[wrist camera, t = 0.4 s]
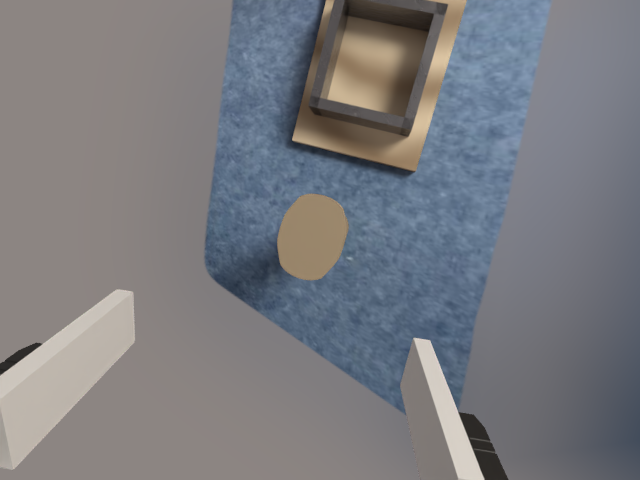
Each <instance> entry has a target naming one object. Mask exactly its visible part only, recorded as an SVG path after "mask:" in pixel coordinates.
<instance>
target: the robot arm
mask: <svg viewBox="0 0 640 480" xmlns="http://www.w3.org/2000/svg"><path fill="white" fill-rule="evenodd" d="M134 342H135V328H134V301H133V292H131V291H125V290H119V289H117V290H115V291H114V292H113V293H111V294H110V295H109V296H107V297H106V298H104V299H103V300H102V301H100V302H99V303H98V304H96V305H95V306H94V307H92V308H91V309H90V310H88V311H87V312H86V313H84V314H83V315H82V316H80V317H79V318H77V319H76V320H75V321H73V322H72V323H71V324H69V325H68V326H67V327H65V328H64V329H63V330H61V331H60V332H59V333H57V334H56V335H55V336H53V337H52V338H50V339H49V340H48V341H46V342H45V343H44V344H41V343H35V344H32V345H30V346H28V347H26V348H23V349H21V350H19V351H17V352H16V353H15V354H13V355H12V356H10V357H9V358H7V359H6V360H5V362H2V363H0V468H6V469H14V468H15V467H16V466H17V465H18V464H19V463H20V462H21V461H22V460H23V459H24V458H25V457H26V456H27V455H28V454H29V453H30V452H31V451H32V450H33V448H34V447H35V446H36V445H37V444H38V443H39V442H40V441H41V440H42V439H43V438H44V437H45V436H46V435H47V433H49V431H51V429H52V428H53V427H54V426H55V425H56V424H57V423H58V422H59V421H60V420H61V419H62V418H63V417H64V416H65V415H66V413H68V412H69V411H70V409H71V408H72V407H73V406H74V405H75V404H76V403H77V402H78V401H79V400H80V399H81V398H82V397H83V396H84V395H85V394H86V393H87V392H88V391H89V389H90V388H91V387H92V386H93V385H94V384H95V383H96V382H97V381H98V380H99V379H100V378H101V377H102V376H103V375H104V374H105V373H106V372H107V370H108V369H109V368H110V367H111V366H112V365H113V364H114V363H115V362H116V361H117V360H118V359H119V358H120V357H121V356H122V355H123V354H124V353H125V351H126V350H127V349H128V348H129V347H130V346H131V345H132V344H133V343H134ZM400 387H401V392H402V397H403V401H404V406H405V411H406V415H407V420H408V425H409V430H410V434H411V439H412V443H413V449H414V453H415V458H416V463H417V467H418V472H419V477H420V480H508V478H507V476H506V474H505V471H504V469H503V467H502V465H501V463H500V460H499V458H498V456H497V454H495V450H494V447H493V445H492V443H490V439H489V436H488V434H487V432H486V430H485V428H484V426H483V425H482V424H481V423H480V422H479V421H478V419H477V418H476V417H475V416H474V415H472V414H466V413H460V412H458V411H457V408H456V406H455V403H454V401H453V398H452V395H451V393H450V390H449V388H448V385H447V383H446V380H445V378H444V375H443V372H442V370H441V367H440V365H439V362H438V360H437V357H436V355H435V352H434V349H433V347H432V344H431V342H430V340H424V339H418V338H413V341H412V345H411V348H410V352H409V356H408V359H407V363H406V366H405V370H404V374H403V377H402V381H401V384H400Z"/></svg>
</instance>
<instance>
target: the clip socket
mask: <svg viewBox="0 0 640 480" xmlns="http://www.w3.org/2000/svg"><path fill="white" fill-rule="evenodd" d="M447 8H448V4H444V3H439V2H434V1H429V0H334V3H333V7H332V11H331V15H330V19H329V23H328V27H327V31H326V35H325V39H324V43H323V48H322V52H321V56H320V60H319V64H318V68H317V72H316V76H315V80H314V84H313V88H312V92H311V96H310V100H309V104H308V106H309V108H310V109H311V110H312V112H313V113H314V114H315V115H319V116H323V117H327V118H331V119H336V120H340V121H344V122H348V123H352V124H357V125H361V126H365V127H369V128H373V129H377V130H382V131H386V132H390V133H394V134H398V135H403V136H407V137H409V135H410V133H411V131H412V127H413V124H414V121H415V117H416V114H417V110H418V107H419V103H420V100H421V97H422V93H423V90H424V86H425V83H426V79H427V76H428V73H429V69H430V66H431V62H432V59H433V56H434V52H435V49H436V45H437V42H438V38H439V35H440V32H441V28H442V25H443V21H444V18H445V14H446V11H447ZM348 16H351V17H356V18H361V19H366V20H371V21H376V22H381V23H386V24H391V25H396V26H401V27H406V28H411V29H416V30H421V31H426V32H429V33H428V36H427V40H426V43H425V47H424V50H423V53H422V57H421V60H420V64H419V67H418V71H417V74H416V78H415V81H414V85H413V88H412V92H411V95H410V99H409V102H408V106H407V109H406V113H405V116H404V117H401V116H397V115H393V114H388V113H384V112H380V111H375V110H371V109H367V108H362V107H358V106H354V105H350V104H345V103H341V102H337V101H332V100H328V95H329V91H330V87H331V83H332V79H333V75H334V71H335V67H336V63H337V59H338V55H339V51H340V47H341V44H342V40H343V36H344V32H345V28H346V24H347V20H348Z"/></svg>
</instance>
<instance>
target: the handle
mask: <svg viewBox="0 0 640 480" xmlns="http://www.w3.org/2000/svg"><path fill="white" fill-rule="evenodd" d="M348 227H349V226H348V221H347V218H346V217H345V214H344V209H343V208H342V207H341V205H340V204H339V203H338V202H336V201H335V200H333V199H332V198H329V197H327V196H323V195H319V194H306V195H302V196H300V197H299V198H298V199H297V200H296V201H295V203H294V204H293V205H292V206H291V207H290V208H289V209H288V211H287V212H286V214H285V215H284V218H283V220H282V223H281V227H280V230H279V234H278V239H277V247H278V254H279V260H280V265H281V266H282V267H283V269H284V270H285V271H286V272H288V273H289V274H291V275H292V276H295V277H297V278H300V279H304V280H317V279H321V278H322V277H323V276H324V275H325V274H326V273H327V272H328V271H329V270H330V269H331V268H332V267H333V265H334V264H335V263H336V262H337V260H338V259H339V257H340V255H341V252H342V249H343V246H344V243H345V239H346V235H347V233H348Z"/></svg>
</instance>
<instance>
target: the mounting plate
mask: <svg viewBox="0 0 640 480" xmlns="http://www.w3.org/2000/svg"><path fill="white" fill-rule="evenodd" d="M429 1H434V2H439V3H444V4H448V8H447V11H446V14H445V18H444V21H443V25H442V28H441V32H440V35H439V38H438V42H437V45H436V49H435V52H434V56H433V59H432V62H431V66H430V69H429V73H428V76H427V79H426V83H425V86H424V90H423V93H422V97H421V100H420V103H419V107H418V110H417V114H416V117H415V121H414V124H413V127H412V131H411V133H410V135H409V137H407V136H403V135H398V134H394V133H390V132H386V131H382V130H377V129H373V128H369V127H365V126H361V125H357V124H352V123H348V122H344V121H340V120H336V119H331V118H327V117H323V116H319V115H315V114H314V113H313V112H312V110H311V109H310V108H309V106H308V104H309V100H310V96H311V92H312V88H313V84H314V80H315V76H316V72H317V68H318V64H319V60H320V56H321V52H322V48H323V43H324V39H325V35H326V31H327V27H328V23H329V19H330V15H331V11H332V7H333V3H334V0H326V3H325V7H324V11H323V15H322V19H321V23H320V28H319V32H318V36H317V40H316V44H315V48H314V52H313V56H312V60H311V64H310V69H309V73H308V77H307V81H306V85H305V89H304V93H303V97H302V101H301V105H300V110H299V114H298V118H297V122H296V126H295V130H294V134H293V138H292V140H293V141H294V142H297V143H301V144H305V145H309V146H313V147H317V148H321V149H325V150H329V151H332V152H336V153H340V154H344V155H348V156H352V157H356V158H360V159H364V160H368V161H372V162H376V163H380V164H384V165H388V166H392V167H396V168H400V169H404V170H408V171H412V172H415V171H416V168H417V165H418V162H419V158H420V155H421V152H422V148H423V145H424V142H425V138H426V135H427V132H428V128H429V125H430V122H431V118H432V115H433V112H434V108H435V105H436V102H437V98H438V95H439V91H440V88H441V85H442V81H443V78H444V75H445V71H446V68H447V65H448V61H449V58H450V55H451V51H452V48H453V45H454V41H455V38H456V35H457V31H458V28H459V25H460V21H461V18H462V14H463V11H464V8H465V4H466V1H467V0H429ZM428 33H429V32H426V31H421V30H416V29H411V28H406V27H401V26H396V25H391V24H386V23H381V22H376V21H371V20H366V19H361V18H356V17H351V16H348V20H347V24H346V28H345V32H344V36H343V40H342V44H341V47H340V51H339V55H338V59H337V63H336V67H335V71H334V75H333V79H332V83H331V87H330V91H329V95H328V100H332V101H337V102H341V103H345V104H350V105H354V106H358V107H362V108H367V109H371V110H375V111H380V112H384V113H388V114H393V115H397V116H401V117H404V116H405V113H406V109H407V106H408V102H409V99H410V95H411V92H412V88H413V85H414V81H415V78H416V74H417V71H418V67H419V64H420V60H421V57H422V53H423V50H424V47H425V43H426V40H427V36H428Z"/></svg>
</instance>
